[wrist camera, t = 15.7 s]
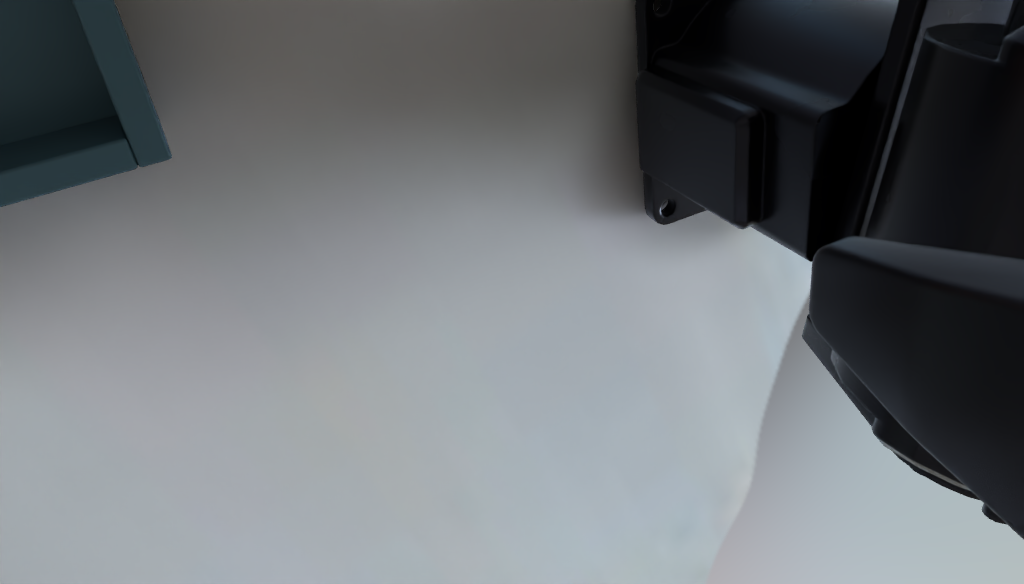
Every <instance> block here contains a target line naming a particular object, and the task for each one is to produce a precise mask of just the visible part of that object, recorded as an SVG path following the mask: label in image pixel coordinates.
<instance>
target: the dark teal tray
mask: <svg viewBox="0 0 1024 584" xmlns="http://www.w3.org/2000/svg"><path fill="white" fill-rule="evenodd" d="M171 158H172V154H171V151H170V149H169V146H168V143H167V140H166V137H165V135H164V132H163V129H162V126H161V123H160V121H159V118H158V115H157V113H156V110H155V107H154V105H153V102H152V99H151V97H150V94H149V92H148V89H147V86H146V84H145V81H144V78H143V76H142V73H141V71H140V68H139V65H138V63H137V60H136V57H135V55H134V52H133V49H132V47H131V44H130V42H129V39H128V36H127V34H126V31H125V28H124V26H123V23H122V20H121V18H120V15H119V13H118V10H117V7H116V5H115V2H114V0H0V207H3V206H6V205H10V204H13V203H17V202H20V201H24V200H27V199H31V198H34V197H38V196H41V195H45V194H49V193H52V192H56V191H59V190H63V189H66V188H70V187H73V186H77V185H80V184H84V183H88V182H91V181H95V180H98V179H102V178H105V177H109V176H112V175H116V174H119V173H123V172H126V171H130V170H134V169H136V168H137V167H138V165H139V166H140V167H144V166H148V165H152V164H155V163H159V162H162V161H166V160H169V159H171Z"/></svg>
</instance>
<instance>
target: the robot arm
mask: <svg viewBox="0 0 1024 584" xmlns="http://www.w3.org/2000/svg"><path fill="white" fill-rule="evenodd" d="M653 4H654V0H636V5H635V10H636V30H637V51H638V71H639V75H638V77H637V80H636V98H637V118H638V138H639V157H640V168H641V170H642V171H643V174H644V195H645V209H646V213H647V215H648V216H649V217H650V218H651V219H653V220H654V221H656V222H657V223H660V224H663V225H665V224H670V223H673V222H675V221H678V220H681V219H683V218H686V217H689V216H691V215H694V214H697V213H699V212H702V211H705V210H708V211H710V212H712V213H713V214H715V215H717V216H719V217H720V218H722V219H724V220H725V221H727V222H729V223H730V224H732V225H734V226H735V227H737V228H739V229H745V228H748V227H752V228H754V229H755V230H757V231H759V232H761V233H762V234H764V235H766V236H768V237H769V238H771V239H773V240H774V241H776V242H778V243H780V244H781V245H783V246H785V247H786V248H788V249H790V250H792V251H793V252H795V253H797V254H798V255H800V256H802V257H804V258H805V259H807V260H809V261H810V262H812V261H813V262H812V275H811V288H810V302H809V315H808V316H807V319H806V323H805V327H804V330H803V334H802V337H803V339H804V340H805V342H806V343H807V344H808V346H809V347H810V348H811V349H812V351H813V352H814V353H815V354H816V356H817V357H818V358H819V360H820V361H821V362H822V364H823V365H824V366H825V367H826V369H827V370H828V371H829V372H830V374H831V375H832V376H833V378H834V379H835V380H836V381H837V383H838V384H839V385H840V387H841V388H842V389H843V390H844V392H845V393H846V394H847V396H848V397H849V398H850V399H851V401H852V402H853V403H854V404H855V406H856V407H857V408H858V410H859V411H860V412H861V414H862V415H863V416H864V417H865V419H866V420H867V421H868V422H869V424H870V425H871V426H872V430H873V433H874V435H875V436H876V437H877V438H878V439H879V440H880V442H881V443H882V444H883V445H884V446H885V447H887V448H888V449H890V450H891V451H893V453H894V454H896V456H897V457H898V458H899V459H901V460H902V461H903V462H905V463H906V464H907V465H909V466H910V467H911V468H912V469H913V470H914V471H915V472H917V473H919V474H920V475H923V476H925V477H927V478H929V479H931V480H932V481H934V482H936V483H938V484H940V485H941V486H944V487H946V488H948V489H951V490H953V491H955V492H958V493H960V494H963V495H965V496H967V497H971V498H974V499H978V500H981V501H983V502H984V505H983V507H982V512H983V513H984V515H986V516H987V517H988V518H989V519H991V520H993V521H995V522H998V523H1002V524H1007V525H1009V526H1010V527H1011V528H1012V529H1013V530H1014V531H1015V532H1016V533H1017V534H1018V535H1020V536H1021V537H1022V538H1023V539H1024V0H661V5H660V7H659V8H658V10H656V11H654V8H653ZM667 200H668V203H667V205H666V207H665V208H664V209H663V210H661V207H662V205H663V203H664V202H665V201H667Z"/></svg>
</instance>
